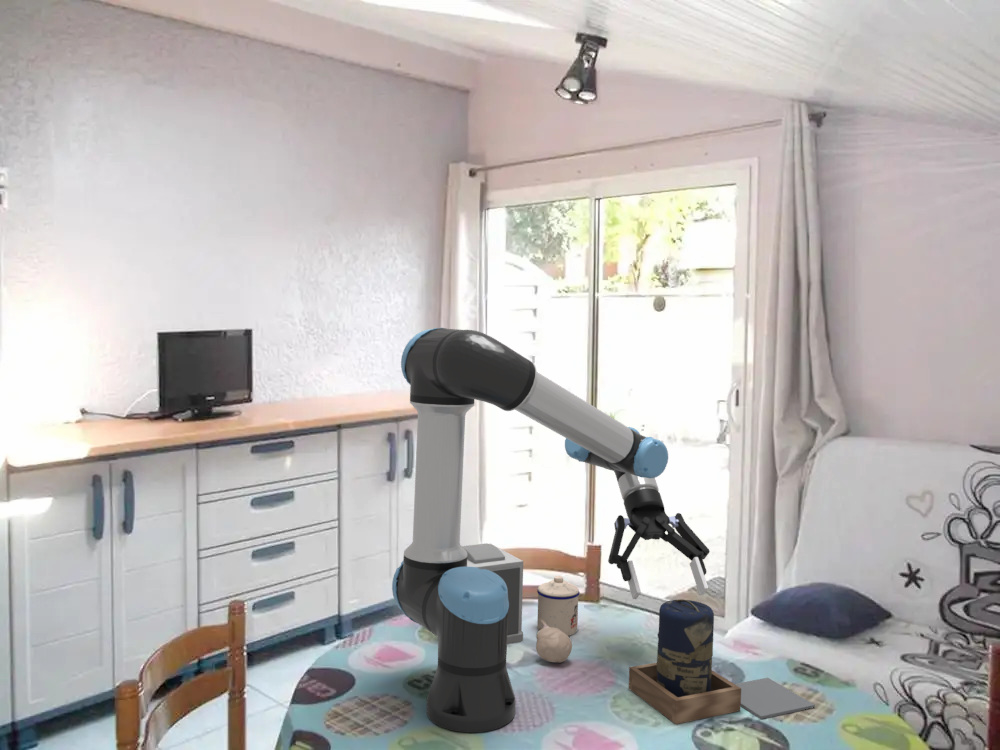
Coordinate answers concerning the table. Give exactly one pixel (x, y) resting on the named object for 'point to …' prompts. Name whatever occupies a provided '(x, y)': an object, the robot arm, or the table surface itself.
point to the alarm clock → (512, 576)
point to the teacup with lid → (558, 605)
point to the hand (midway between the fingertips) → (670, 593)
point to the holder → (687, 707)
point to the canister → (685, 647)
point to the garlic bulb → (553, 644)
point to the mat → (770, 699)
